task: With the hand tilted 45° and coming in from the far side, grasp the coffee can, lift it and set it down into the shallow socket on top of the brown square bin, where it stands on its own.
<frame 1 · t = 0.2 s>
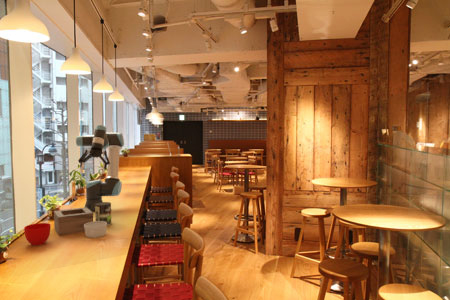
hand: (92, 172, 233), 35 cm above the table, tool tilted 35°, fingers open, 13 cm apart
coffee can: (103, 224, 237), on the table
ramekin: (95, 235, 212), on the table
brown square bin: (73, 229, 225), on the table
ceramic cup: (39, 242, 199), on the table
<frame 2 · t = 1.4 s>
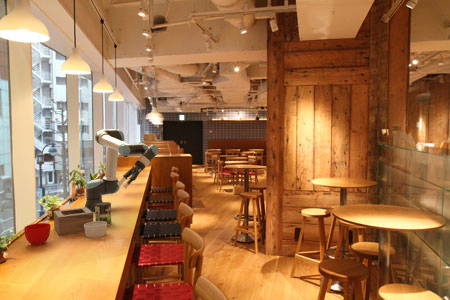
hand: (121, 186, 242), 25 cm above the table, tool tilted 45°, fingers open, 13 cm apart
nothing on the table moved.
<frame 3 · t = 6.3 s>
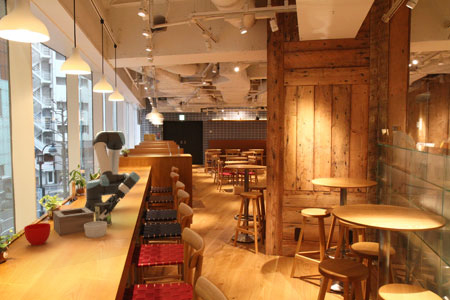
hand: (98, 216, 235), 5 cm above the table, tool tilted 45°, fingers closed on coffee can, 10 cm apart
coffee can: (103, 224, 237), on the table, touching gripper
everything else where it was.
when the fingers open (14 cm above the table, at t = 12.8 s): coffee can stays where it is, resting on brown square bin.
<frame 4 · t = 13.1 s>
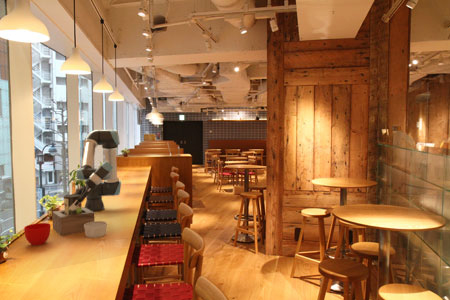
hand: (69, 207, 223), 15 cm above the table, tool tilted 45°, fingers open, 13 cm apart
coffee can: (73, 217, 225), point 7 cm above the table, touching brown square bin
brown square bin: (73, 229, 225), on the table, touching coffee can
everything else where it was.
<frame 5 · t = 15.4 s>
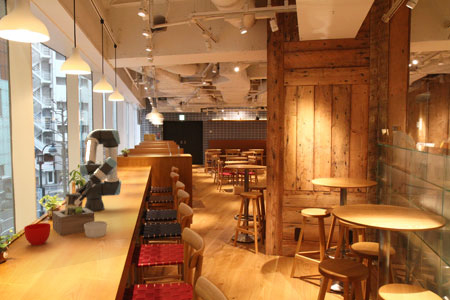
hand: (73, 202, 224), 17 cm above the table, tool tilted 45°, fingers open, 13 cm apart
coffee can: (73, 216, 225), point 8 cm above the table, touching gripper
brown square bin: (73, 229, 225), on the table
everything else where it was.
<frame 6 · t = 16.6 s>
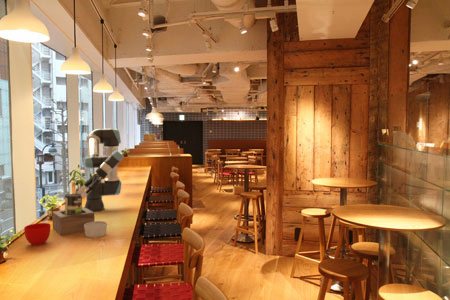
hand: (80, 195, 226), 21 cm above the table, tool tilted 45°, fingers open, 13 cm apart
coffee can: (73, 217, 225), point 8 cm above the table, touching brown square bin
brown square bin: (73, 229, 225), on the table, touching coffee can
everything else where it was.
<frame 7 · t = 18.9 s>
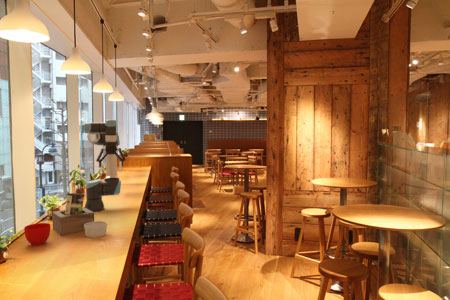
hand: (111, 171, 252), 34 cm above the table, tool pointing down, fingers open, 13 cm apart
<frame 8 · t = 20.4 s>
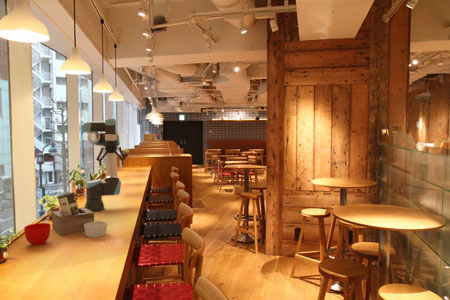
hand: (111, 169, 253), 35 cm above the table, tool pointing down, fingers open, 13 cm apart
coffee can: (71, 216, 224), point 9 cm above the table
brown square bin: (73, 229, 225), on the table
everything else where it was.
at the end: coffee can inside the target area on the brown square bin (0.9 cm from its centre), point 9.0 cm above the brown square bin's base; coffee can tilted 13°; the gripper is holding nothing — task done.
